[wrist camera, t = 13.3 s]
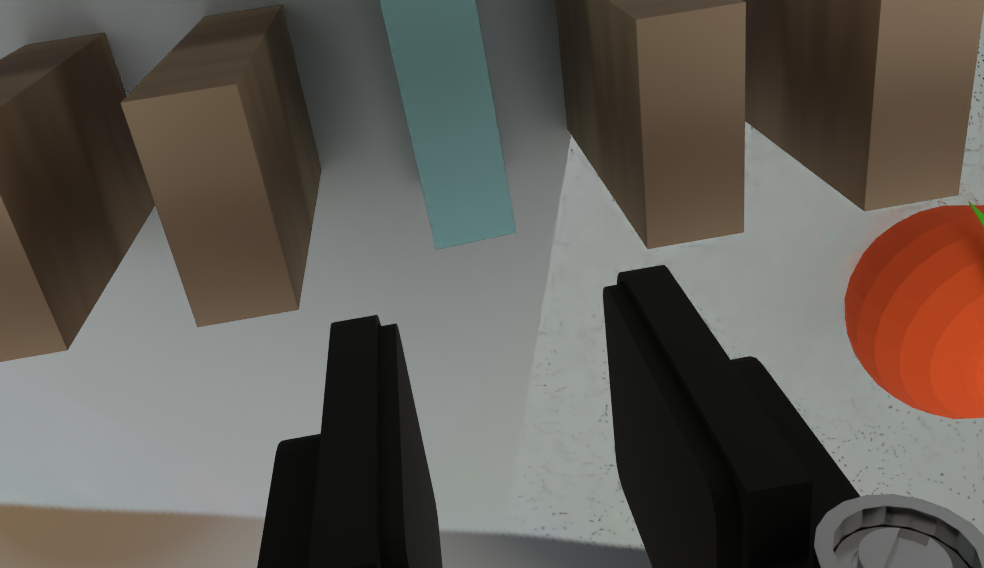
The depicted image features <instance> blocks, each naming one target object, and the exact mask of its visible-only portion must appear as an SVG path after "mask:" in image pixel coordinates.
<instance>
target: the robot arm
mask: <svg viewBox="0 0 984 568" xmlns="http://www.w3.org/2000/svg"><path fill="white" fill-rule="evenodd" d="M603 303H604V316H605V328H606V340H607V353H608V365H609V378H610V390H611V403H612V415H613V428H614V440H615V453H616V463H617V469H618V474H619V478H620V482H621V486H622V489H623V491H624V494H625V497H626V499H627V502H628V504H629V507H630V510H631V512H632V515H633V518H634V520H635V523H636V525H637V528H638V531H639V533H640V536H641V539H642V541H643V544H644V546H645V549H646V552H647V554H648V557H649V559H650V562H651V565H652V567H653V568H984V535H983V534H982V533H981V532H980V531H979V530H978V529H977V528H976V527H975V526H974V525H973V524H972V523H970V522H969V521H967V520H965V519H964V518H962V517H960V516H959V515H957V514H955V513H954V512H952V511H950V510H949V509H947V508H944V507H941V506H939V505H936V504H933V503H930V502H927V501H925V500H922V499H918V498H912V497H906V496H900V495H894V494H886V495H865V496H862V497H860V495H859V494H858V493H857V491H856V490H855V489H854V487H853V486H852V485H851V483H850V482H849V481H848V479H847V478H846V476H845V475H844V474H843V472H842V471H841V470H840V468H839V467H838V466H837V464H836V463H835V462H834V460H833V459H832V458H831V456H830V455H829V454H828V452H827V451H826V449H825V448H824V447H823V445H822V444H821V443H820V441H819V440H818V439H817V437H816V436H815V435H814V433H813V432H812V431H811V429H810V428H809V427H808V425H807V424H806V422H805V421H804V420H803V418H802V417H801V416H800V414H799V413H798V412H797V410H796V409H795V408H794V406H793V405H792V404H791V402H790V401H789V399H788V398H787V397H786V395H785V394H784V393H783V391H782V390H781V389H780V387H779V386H778V385H777V383H776V382H775V381H774V379H773V378H772V377H771V375H770V374H769V372H768V371H767V370H766V368H765V367H764V366H763V365H762V364H761V362H760V361H759V360H758V359H757V358H754V357H751V356H749V357H743V358H738V359H732V360H730V359H729V357H728V356H727V354H726V353H725V351H724V350H723V348H722V347H721V345H720V344H719V342H718V341H717V340H716V338H715V337H714V335H713V334H712V332H711V331H710V329H709V328H708V326H707V325H706V323H705V322H704V321H703V319H702V318H701V316H700V315H699V313H698V312H697V310H696V309H695V307H694V306H693V305H692V303H691V302H690V300H689V299H688V297H687V296H686V294H685V293H684V291H683V290H682V288H681V287H680V286H679V284H678V283H677V281H676V280H675V278H674V277H673V275H672V274H671V272H670V271H669V269H668V268H667V267H666V266H665V265H660V266H654V267H648V268H643V269H637V270H631V271H626V272H620V273H619V274H618V277H617V285H613V286H608V287H604V289H603ZM257 568H442V558H441V547H440V536H439V525H438V517H437V510H436V503H435V498H434V492H433V488H432V483H431V478H430V474H429V469H428V464H427V460H426V455H425V450H424V446H423V441H422V436H421V432H420V427H419V422H418V418H417V413H416V408H415V404H414V399H413V394H412V390H411V385H410V380H409V376H408V371H407V366H406V361H405V357H404V352H403V347H402V343H401V338H400V334H399V329H398V326H397V324H391V325H385V326H381V324H380V321H379V318H378V316H377V315H374V316H368V317H362V318H356V319H351V320H345V321H339V322H334V323H331V328H330V339H329V350H328V361H327V372H326V382H325V393H324V404H323V415H322V426H321V434H317V435H311V436H306V437H300V438H295V439H289V440H284V441H281V442H280V443H279V444H278V447H277V451H276V455H275V461H274V468H273V474H272V480H271V486H270V492H269V498H268V504H267V511H266V517H265V523H264V530H263V535H262V541H261V548H260V554H259V560H258V566H257Z"/></svg>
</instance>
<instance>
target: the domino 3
mask: <svg viewBox="0 0 984 568" xmlns="http://www.w3.org/2000/svg"><path fill="white" fill-rule="evenodd" d="M380 5H381V9H382V14H383V18H384V22H385V27H386V31H387V36H388V40H389V45H390V49H391V53H392V58H393V62H394V67H395V71H396V75H397V80H398V84H399V89H400V93H401V97H402V102H403V106H404V111H405V115H406V119H407V124H408V128H409V133H410V137H411V141H412V146H413V150H414V155H415V159H416V163H417V168H418V172H419V177H420V181H421V185H422V190H423V194H424V199H425V203H426V208H427V212H428V216H429V221H430V225H431V230H432V234H433V238H434V243H435V247H436V250H437V249H442V248H446V247H451V246H456V245H460V244H465V243H470V242H475V241H479V240H484V239H489V238H493V237H498V236H503V235H508V234H512V233H516V229H515V223H514V217H513V211H512V206H511V200H510V194H509V189H508V183H507V177H506V171H505V166H504V160H503V154H502V149H501V143H500V137H499V131H498V126H497V120H496V114H495V109H494V103H493V97H492V92H491V86H490V80H489V74H488V69H487V63H486V57H485V52H484V46H483V40H482V34H481V29H480V23H479V17H478V12H477V6H476V0H380Z"/></svg>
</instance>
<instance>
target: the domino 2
mask: <svg viewBox="0 0 984 568" xmlns="http://www.w3.org/2000/svg"><path fill="white" fill-rule="evenodd" d="M121 106H122V109H123V112H124V115H125V118H126V120H127V123H128V126H129V129H130V132H131V135H132V138H133V141H134V144H135V147H136V150H137V152H138V155H139V158H140V161H141V164H142V167H143V170H144V173H145V176H146V179H147V182H148V185H149V187H150V190H151V193H152V196H153V199H154V202H155V205H156V208H157V211H158V214H159V217H160V219H161V222H162V225H163V228H164V231H165V234H166V237H167V240H168V243H169V246H170V249H171V252H172V254H173V257H174V260H175V263H176V266H177V269H178V272H179V275H180V278H181V281H182V284H183V286H184V289H185V292H186V295H187V298H188V301H189V304H190V307H191V310H192V313H193V316H194V319H195V321H196V324H197V327H201V326H207V325H213V324H218V323H224V322H230V321H236V320H241V319H247V318H253V317H259V316H264V315H270V314H276V313H282V312H288V311H293V310H298V309H299V303H300V297H301V291H302V285H303V279H304V273H305V266H306V260H307V254H308V248H309V242H310V236H311V230H312V224H313V218H314V212H315V206H316V200H317V194H318V188H319V181H320V175H321V166H320V162H319V158H318V154H317V150H316V145H315V141H314V137H313V133H312V129H311V124H310V120H309V116H308V112H307V108H306V104H305V99H304V95H303V91H302V87H301V83H300V78H299V74H298V70H297V66H296V62H295V58H294V53H293V49H292V45H291V41H290V37H289V32H288V28H287V24H286V20H285V16H284V12H283V7H282V5H277V6H271V7H264V8H258V9H252V10H245V11H239V12H233V13H226V14H220V15H214V16H207V17H204V18H203V19H202V20H201V21H200V22H199V23H198V24H197V25H196V26H195V27H194V28H193V29H192V30H191V31H190V32H189V33H188V34H187V35H186V36H185V37H184V38H183V39H182V40H181V41H180V42H179V43H178V44H177V45H176V46H175V47H174V48H173V49H172V50H171V52H170V53H169V54H168V55H167V56H166V57H165V58H164V59H163V60H162V61H161V62H160V63H159V64H158V65H157V66H156V67H155V68H154V69H153V70H152V71H151V72H150V73H149V74H148V75H147V76H146V77H145V78H144V79H143V80H142V81H141V82H140V83H139V84H138V85H137V86H136V87H135V88H134V89H133V90H132V91H131V92H130V93H129V95H128V96H127V97H126V98H125V99H124V100H123V101H122V102H121Z"/></svg>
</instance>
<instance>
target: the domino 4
mask: <svg viewBox="0 0 984 568" xmlns="http://www.w3.org/2000/svg"><path fill="white" fill-rule="evenodd" d="M556 11H557V21H558V32H559V43H560V54H561V64H562V75H563V86H564V97H565V108H566V118H567V129H568V131H569V132H570V134H571V135H572V137H573V138H574V140H575V141H576V143H577V144H578V146H579V147H580V148H581V150H582V151H583V153H584V154H585V156H586V157H587V159H588V160H589V162H590V163H591V165H592V166H593V168H594V169H595V171H596V172H597V174H598V175H599V177H600V178H601V180H602V181H603V183H604V184H605V186H606V187H607V189H608V190H609V192H610V193H611V195H612V196H613V198H614V199H615V201H616V202H617V204H618V205H619V207H620V208H621V210H622V211H623V213H624V214H625V216H626V217H627V219H628V220H629V222H630V223H631V225H632V226H633V228H634V229H635V231H636V232H637V234H638V235H639V237H640V238H641V240H642V241H643V243H644V244H645V246H646V247H647V249H651V248H656V247H662V246H668V245H674V244H679V243H685V242H691V241H697V240H702V239H708V238H714V237H720V236H726V235H731V234H737V233H743V232H744V156H745V36H746V2H744V1H742V0H556Z"/></svg>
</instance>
